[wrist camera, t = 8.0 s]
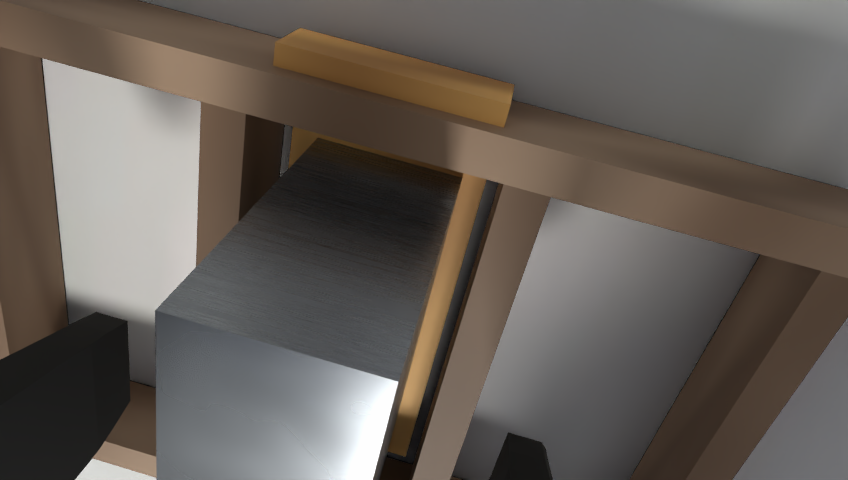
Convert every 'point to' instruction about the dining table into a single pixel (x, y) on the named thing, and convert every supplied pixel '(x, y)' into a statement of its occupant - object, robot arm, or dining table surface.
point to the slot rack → (503, 235)
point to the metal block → (302, 324)
